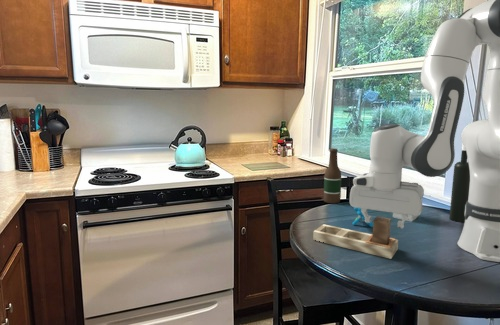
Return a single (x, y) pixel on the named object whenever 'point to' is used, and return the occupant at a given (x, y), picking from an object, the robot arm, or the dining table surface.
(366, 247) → the wooden compartment tray
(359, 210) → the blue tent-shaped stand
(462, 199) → the wine bottle
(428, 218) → the dining table surface
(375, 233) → the peg
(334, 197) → the beer bottle
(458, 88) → the robot arm
